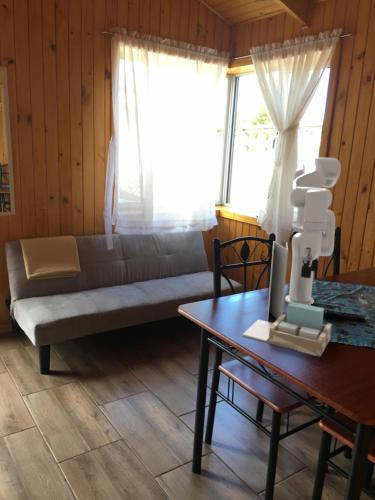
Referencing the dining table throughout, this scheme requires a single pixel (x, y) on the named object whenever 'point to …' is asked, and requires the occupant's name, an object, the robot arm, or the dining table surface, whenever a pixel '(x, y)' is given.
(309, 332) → the offcut
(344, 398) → the dining table surface
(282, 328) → the offcut
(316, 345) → the crate
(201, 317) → the dining table surface
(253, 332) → the mat
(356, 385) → the dining table surface
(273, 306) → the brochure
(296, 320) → the teal rectangular block
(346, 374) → the dining table surface
